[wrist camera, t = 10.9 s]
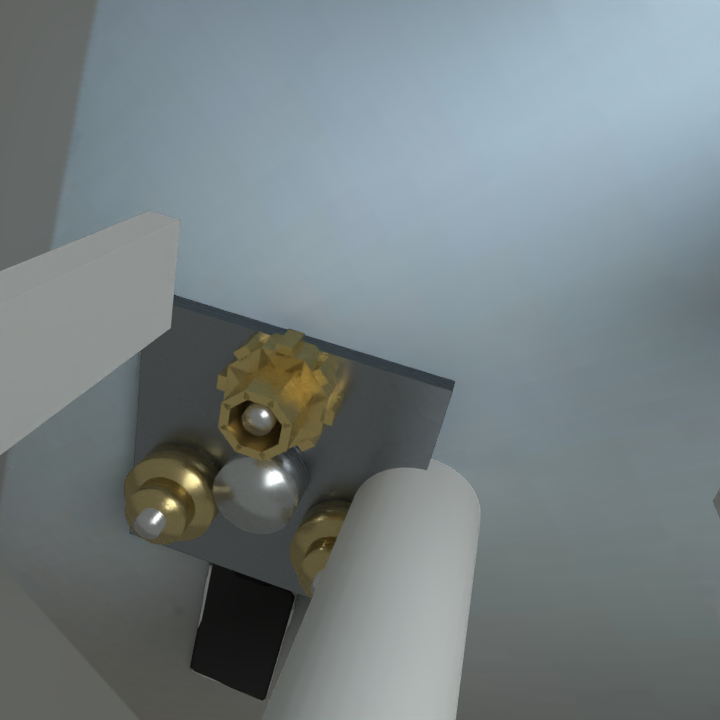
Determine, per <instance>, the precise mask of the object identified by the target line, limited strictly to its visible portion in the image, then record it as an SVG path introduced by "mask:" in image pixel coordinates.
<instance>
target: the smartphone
mask: <svg viewBox="0 0 720 720" xmlns="http://www.w3.org/2000/svg"><path fill="white" fill-rule="evenodd" d="M208 572H209V573H208V575H207V578H206V583H205V589H204V594H203V598H204V599H203V604H202V609H201V614H200V619H199V624H198V630H197V635H196V640H195V645H194V650H193V656H192V661H191V666H190V667H191V670H192V671H193V672H195V673H197V674H199V675H202V676H204V677H207V678H209V679H212V680H214V681H216V682H219V683H221V684H224V685H226V686H228V687H231V688H233V689H236V690H238V691H241V692H243V693H245V694H248V695H250V696H253V697H255V698H257V699H260V700H264V699H265V698H266V697H267V694H268V692H269V688H270V685H271V681H272V678H273V675H274V671H275V668H276V664H277V661H278V658H279V654H280V651H281V647H282V644H283V641H284V637H285V634H286V630H287V628H288V627H289V625H290V623H291V619H292V616H293V612H294V609H295V606H296V605H294V603H295V600H296V596H297V593H295V592H292V591H289V590H286V589H284V588H281V587H278V586H275V585H272V584H270V583H267V582H264V581H261V580H258V579H256V578H253V577H250V576H247V575H245V574H242V573H239V572H236V571H233V570H231V569H228V568H225V567H222V566H219V565H217V564H214V563H210V565H209V570H208Z"/></svg>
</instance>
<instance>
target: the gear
mask: <svg viewBox="0 0 720 720" xmlns="http://www.w3.org/2000/svg"><path fill="white" fill-rule="evenodd" d="M304 336H305V333H301V332H298V331H295V330H292V329H289V330H288V331H287V332H286V333H285V334H284V335H281V334H277V333H274V334H272V335H271V336H269V337H267V338H265V337H264V336H263V334H262V333H261V331H260V332H258V333H256V334H254V335H252V336H251V337H249V338H248V339H246V340H245V341H244V342H243V343H242V344H241V345H240V346H239V347H238V348H237V349H236V350H235V351H234V352H233V353H234V355H235V356H236V358H235V359H233V360H232V361H231V362H230V363H229V364H228V365H227V366H226V367H225V368H224V369H223V370H222V371H221V372H220V373H219V374H218V380H217V388H216V389H219V390H222V391H225V393H224V400H223V401H222V402H221V410H220V417H219V425H218V428H219V430H220V431H221V433H222V434H223V435H224V437H225V438H226V439H227V441H228V442H229V444H230V445H231V446H232V448H233V449H234V451H235V452H237V453H240V454H243V455H246V456H249V457H252V458H255V459H258V460H261V461H265V460H267V459H270V458H272V457H274V456H276V455H279V454H281V453H283V452H285V451H287V450H288V449H289V448H291V447H294V446H296V445H297V446H298V447H299V448H300V450H301V451H302V452H303V451H305V450H307V449H310V448H312V447H314V446H315V445H316V443H317V441H318V440H319V438H320V436H321V434H322V433H323V431H324V429H325V426H326V424H327V425H330V426H332V424H333V423H334V421H335V419H336V417H337V416H338V414H339V412H340V410H341V408H342V405H343V400H344V396H345V394H342V393H338V392H337V388H338V383H339V380H338V378H337V377H336V375H335V372H336V371H337V369H338V367H339V365H338V364H337V362H336V361H335V359H334V358H333V356H332V354H331V353H329V354H327V355H325V356H323V355H322V354H321V352H320V351H319V349H318V348H317V346H316V345H313V344H310V343H307V342H303V341H304ZM252 402H255V403H258V404H262V405H265V406H268V407H269V408H270V409H271V410H272V412H273V413H274V415H275V416H276V418H277V419H278V421H277V422H276V423H275V425H274V426H273V428H272V429H271V430H270V432H269V433H268V434H266V435H264V436H256V435H253V434H251V433H249V432H248V431H247V430H246V429H245V428H244V426H243V424H242V414H243V413H244V411H245V410H246V409H247V408H248V406H249V405H250V404H251V403H252Z"/></svg>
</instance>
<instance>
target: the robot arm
mask: <svg viewBox="0 0 720 720" xmlns="http://www.w3.org/2000/svg"><path fill="white" fill-rule="evenodd" d="M179 229H180V220H179V219H176V218H172V217H169V216H165V215H162V214H159V213H155V212H152V211H148V212H145V213H143V214H140V215H138V216H135V217H133V218H130V219H128V220H126V221H123V222H121V223H118V224H116V225H113V226H111V227H108V228H106V229H103V230H101V231H98V232H96V233H93V234H91V235H89V236H86V237H84V238H81V239H79V240H76V241H74V242H71V243H69V244H66V245H64V246H61V247H59V248H56V249H54V250H52V251H49V252H47V253H44V254H42V255H39V256H37V257H34V258H32V259H29V260H27V261H24V262H22V263H20V264H17V265H15V266H12V267H10V268H7V269H5V270H2V271H0V455H1V454H2V453H4V452H5V451H6V450H8V449H9V448H10V447H12V446H13V445H14V444H16V443H17V442H18V441H20V440H21V439H23V438H24V437H25V436H27V435H28V434H29V433H31V432H32V431H33V430H35V429H36V428H37V427H39V426H40V425H41V424H43V423H44V422H45V421H47V420H48V419H49V418H51V417H52V416H53V415H55V414H56V413H57V412H59V411H60V410H61V409H63V408H64V407H65V406H67V405H68V404H69V403H71V402H72V401H73V400H75V399H76V398H77V397H79V396H80V395H82V394H83V393H84V392H86V391H87V390H88V389H90V388H91V387H92V386H94V385H95V384H96V383H98V382H99V381H100V380H102V379H103V378H104V377H106V376H107V375H108V374H110V373H111V372H112V371H114V370H115V369H116V368H118V367H119V366H120V365H122V364H123V363H124V362H126V361H127V360H128V359H130V358H131V357H132V356H134V355H135V354H136V353H138V352H139V351H141V350H142V349H143V348H145V347H146V346H147V345H149V344H150V343H151V342H153V341H154V340H155V339H157V338H158V337H159V336H161V335H162V334H163V333H165V332H166V331H167V330H169V329H170V328H171V319H172V308H173V297H174V286H175V274H176V263H177V252H178V241H179ZM713 502H714V505H715V507H716V510H717V513H718V515H719V518H720V490H719V491H718V493H717V495H716V496H715V498H714V500H713Z"/></svg>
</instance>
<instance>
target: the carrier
mask: <svg viewBox="0 0 720 720" xmlns="http://www.w3.org/2000/svg"><path fill="white" fill-rule="evenodd" d="M260 331H261V333H262V334H263V336H264V337H265V338H267V337H269V336H271V335H272V334H274V333H277V334H281V335H284V334H285V333H286V332H287V331H288V330H286V329H283V328H280V327H276V326H273V325H270V324H267V323H263V322H260V321H257V320H254V319H250V318H247V317H244V316H241V315H237V314H234V313H231V312H228V311H224V310H221V309H218V308H215V307H211V306H208V305H205V304H202V303H198V302H195V301H192V300H189V299H185V298H182V297H179V296H176V295H174V297H173V308H172V319H171V328H170V329H169V330H167V331H166V332H165V333H163V334H162V335H161V336H159V337H158V338H157V339H155V340H154V341H153V342H151V343H150V344H149V345H147V346H146V347H145V348H143V349H142V353H141V368H140V384H139V399H138V414H137V430H136V445H135V461H134V468H133V469H132V470H131V472H130V473H129V474H128V476H127V478H126V480H125V484H124V495H125V499H126V506H125V515H126V519H127V521H128V523H129V525H130V534H133V535H136V536H139V537H141V538H143V539H145V540H147V541H149V542H151V543H155V544H160V545H164V546H167V547H169V548H172V549H175V550H178V551H180V552H183V553H186V554H189V555H192V556H194V557H197V558H200V559H203V560H206V561H208V562H211V563H214V564H217V565H219V566H222V567H225V568H228V569H231V570H233V571H236V572H239V573H242V574H245V575H247V576H250V577H253V578H256V579H258V580H261V581H264V582H267V583H270V584H272V585H275V586H278V587H281V588H284V589H286V590H289V591H292V592H295V593H297V594H300V595H303V596H306V597H309V598H311V599H312V597H313V594H314V592H315V590H316V587H317V585H318V582H319V580H320V578H321V575H322V573H323V570H324V568H325V566H326V563H327V561H328V558H329V556H330V554H331V551H332V549H333V546H334V544H335V542H336V539H337V537H338V534H339V532H340V530H341V527H342V525H343V522H344V520H345V518H346V515H347V513H348V510H349V508H350V506H351V503H352V501H353V498H354V496H355V494H356V492H357V491H358V489H359V488H360V486H361V485H362V484H363V483H364V482H365V481H366V480H367V479H369V478H370V477H372V476H374V475H375V474H377V473H379V472H382V471H385V470H388V469H394V468H418V469H423V470H427V469H428V466H429V463H430V460H431V457H432V453H433V450H434V447H435V444H436V441H437V438H438V435H439V432H440V429H441V426H442V422H443V419H444V416H445V413H446V410H447V407H448V404H449V401H450V398H451V395H452V392H453V388H454V384H455V381H452V380H449V379H446V378H442V377H439V376H436V375H433V374H429V373H426V372H423V371H420V370H416V369H413V368H410V367H407V366H403V365H400V364H397V363H394V362H390V361H387V360H384V359H381V358H377V357H374V356H371V355H368V354H364V353H361V352H358V351H354V350H351V349H348V348H345V347H341V346H338V345H335V344H332V343H328V342H325V341H322V340H319V339H315V338H312V337H309V336H306V335H305V336H304V341H303V342H307V343H310V344H313V345H316V346H317V348H318V349H319V351H320V352H321V354H322V355H323V356H325V355H327V354H329V353H331V354H332V356H333V358H334V359H335V361H336V362H337V364H338V365H339V367H338V369H337V371H336V372H335V375H336V377H337V378H338V380H339V383H338V388H337V392H338V393H342V394H345V396H344V400H343V405H342V408H341V410H340V412H339V414H338V416H337V417H336V419H335V421H334V423H333V424H332V426H330V425H327V424H326V426H325V429H324V431H323V433H322V434H321V436H320V438H319V440H318V441H317V443H316V445H315V446H314V447H312V448H310V449H307V450H305V451H303V452H302V451H301V450H300V448H299V447H298V446H297V445H296V446H294V447H291V448H289V449H288V450H287V451H285V452H283V453H281V454H279V455H276V456H274V457H272V458H270V459H267V460H265V461H261V460H258V459H255V458H252V457H249V456H246V455H243V454H240V453H237V452H235V451H234V449H233V448H232V446H231V445H230V444H229V442H228V441H227V439H226V438H225V437H224V435H223V434H222V433H221V431H220V430H219V428H218V425H219V417H220V410H221V402H222V401H223V400H224V393H225V391H222V390H219V389H216V388H217V380H218V374H219V373H220V372H221V371H222V370H223V369H224V368H225V367H226V366H227V365H228V364H229V363H230V362H231V361H232V360H233V359H235V358H236V356H235V355H234V353H233V352H234V351H235V350H236V349H237V348H238V347H239V346H240V345H241V344H242V343H243V342H244V341H245V340H246V339H248V338H249V337H251V336H252V335H254V334H256V333H258V332H260ZM277 421H278V419H277V418H276V416H275V415H274V413H273V412H272V410H271V409H270V408H269V407H268V406H265V405H262V404H258V403H255V402H252V403H251V404H250V405H249V406H248V408H247V409H246V410H245V411H244V413H243V414H242V424H243V426H244V428H245V429H246V430H247V431H248V432H249V433H251V434H253V435H256V436H264V435H266V434H268V433H269V432H270V430H271V429H272V428H273V426H274V425H275V423H276V422H277Z"/></svg>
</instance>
